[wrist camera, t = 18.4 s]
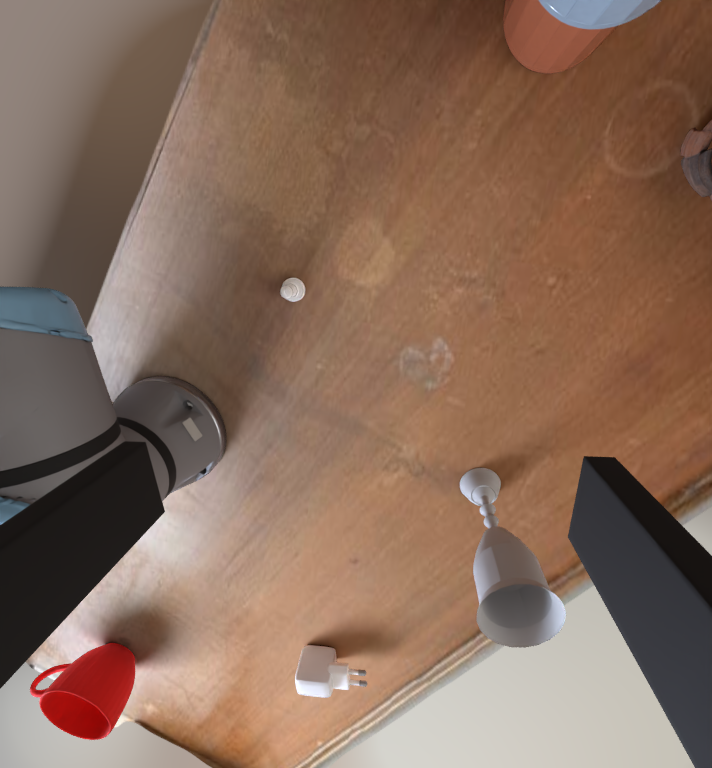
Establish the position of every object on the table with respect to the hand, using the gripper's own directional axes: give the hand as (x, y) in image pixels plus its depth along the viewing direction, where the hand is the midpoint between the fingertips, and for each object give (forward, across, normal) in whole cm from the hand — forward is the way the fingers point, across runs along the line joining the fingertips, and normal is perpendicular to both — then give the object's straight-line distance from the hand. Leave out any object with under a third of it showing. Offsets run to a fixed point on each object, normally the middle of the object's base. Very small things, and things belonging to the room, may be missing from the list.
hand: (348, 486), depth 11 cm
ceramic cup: (+32, +55, +64) cm, 90 cm away
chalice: (+32, -11, +22) cm, 40 cm away
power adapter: (+32, +10, +57) cm, 66 cm away
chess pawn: (+32, +11, -3) cm, 34 cm away
